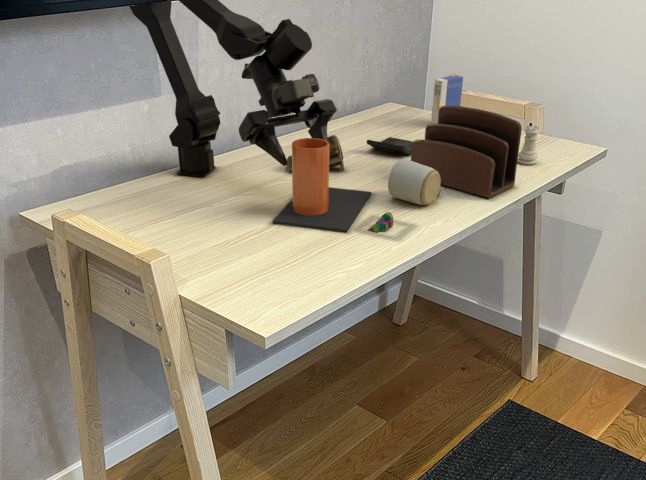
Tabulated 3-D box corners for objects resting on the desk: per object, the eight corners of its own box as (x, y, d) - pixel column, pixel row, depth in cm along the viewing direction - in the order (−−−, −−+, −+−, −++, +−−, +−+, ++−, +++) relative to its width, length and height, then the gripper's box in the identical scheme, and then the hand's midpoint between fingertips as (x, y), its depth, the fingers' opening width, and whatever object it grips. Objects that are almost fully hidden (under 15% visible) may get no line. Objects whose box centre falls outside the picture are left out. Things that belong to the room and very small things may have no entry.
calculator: (424, 147, 173) (425, 134, 171) (402, 160, 165) (402, 146, 163) (389, 140, 177) (390, 128, 176) (365, 152, 169) (366, 140, 167)
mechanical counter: (343, 154, 151) (352, 130, 157) (283, 144, 152) (294, 121, 159) (340, 184, 156) (349, 159, 163) (282, 174, 157) (293, 150, 164)
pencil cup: (288, 213, 136) (287, 147, 129) (298, 201, 141) (298, 136, 135) (322, 217, 134) (323, 150, 128) (332, 204, 140) (333, 139, 133)
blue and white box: (450, 121, 192) (455, 73, 186) (458, 123, 191) (463, 75, 184) (429, 126, 188) (433, 77, 182) (437, 128, 186) (442, 79, 180)
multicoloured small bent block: (373, 217, 136) (374, 204, 135) (412, 226, 133) (413, 213, 132) (355, 230, 131) (356, 217, 130) (396, 240, 128) (396, 226, 126)
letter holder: (435, 165, 162) (441, 100, 154) (514, 187, 150) (525, 117, 143) (408, 176, 155) (413, 108, 148) (489, 199, 144) (498, 128, 137)
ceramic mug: (421, 211, 139) (425, 172, 134) (385, 201, 143) (388, 163, 139) (449, 196, 146) (453, 158, 142) (414, 187, 150) (417, 150, 146)
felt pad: (272, 223, 133) (272, 220, 133) (304, 186, 149) (304, 184, 149) (346, 232, 130) (346, 229, 130) (371, 194, 146) (371, 191, 146)
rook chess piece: (515, 164, 163) (520, 128, 159) (518, 158, 166) (523, 122, 162) (535, 166, 162) (541, 130, 157) (538, 160, 165) (544, 125, 161)
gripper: (243, 64, 124) (280, 146, 122) (332, 53, 133) (367, 128, 132) (223, 102, 133) (257, 178, 132) (307, 89, 143) (339, 159, 141)
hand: (306, 160), depth 134 cm, fingers open, 9 cm apart
